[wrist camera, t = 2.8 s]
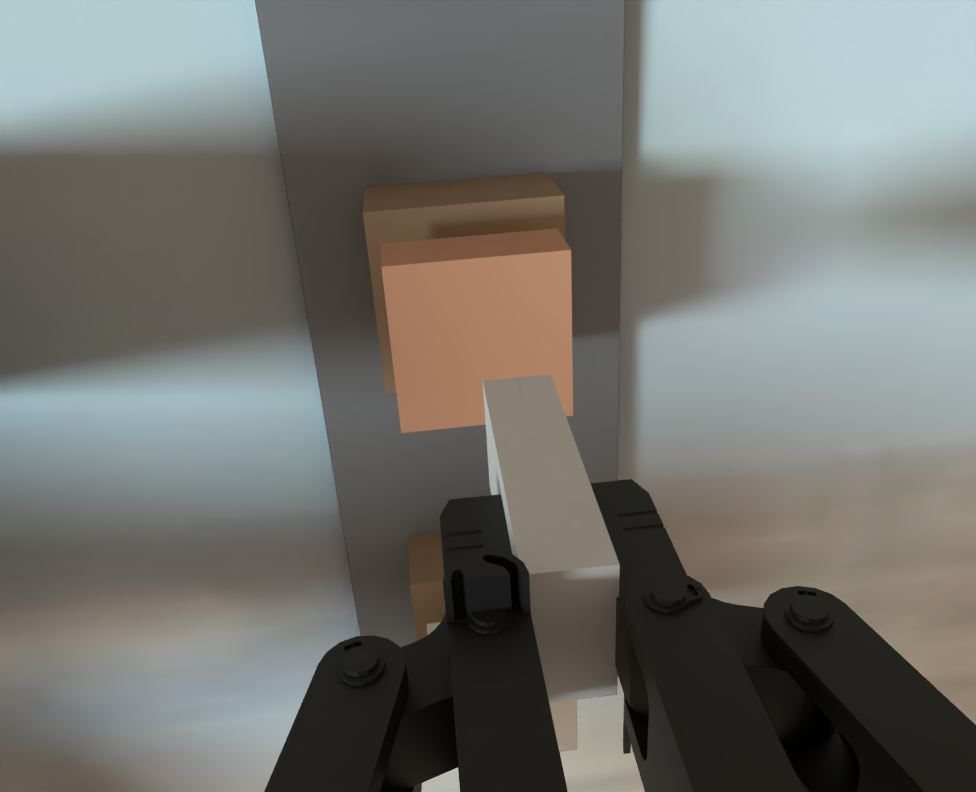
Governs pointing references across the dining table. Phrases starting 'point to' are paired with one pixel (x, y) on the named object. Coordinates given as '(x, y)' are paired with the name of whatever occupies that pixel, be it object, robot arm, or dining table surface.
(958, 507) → the dining table surface
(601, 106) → the button board
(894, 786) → the robot arm
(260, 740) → the dining table surface
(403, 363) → the orange cube
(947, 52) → the dining table surface
